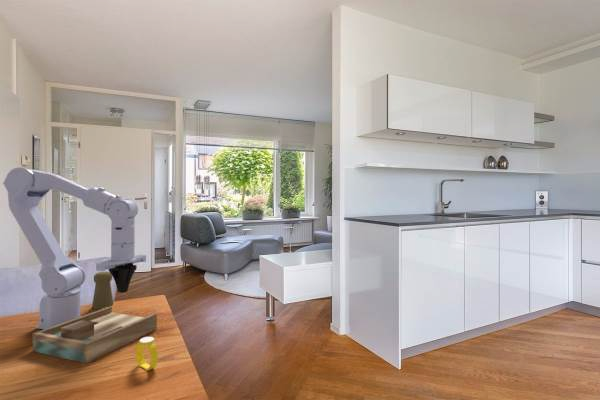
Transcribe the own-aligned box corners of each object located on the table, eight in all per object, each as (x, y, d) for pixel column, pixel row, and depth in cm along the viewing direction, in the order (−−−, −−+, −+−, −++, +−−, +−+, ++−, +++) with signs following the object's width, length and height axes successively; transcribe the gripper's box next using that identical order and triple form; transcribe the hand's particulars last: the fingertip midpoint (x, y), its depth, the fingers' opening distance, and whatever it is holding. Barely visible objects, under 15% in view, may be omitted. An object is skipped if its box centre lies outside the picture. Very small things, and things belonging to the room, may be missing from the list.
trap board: (32, 351, 75) (32, 333, 75) (108, 320, 94) (108, 306, 94) (87, 363, 70) (87, 344, 70) (156, 328, 89) (156, 313, 89)
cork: (103, 309, 103) (103, 274, 103) (87, 308, 105) (87, 273, 105) (117, 303, 109) (118, 270, 109) (102, 302, 111) (102, 269, 111)
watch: (160, 370, 68) (161, 341, 68) (147, 376, 66) (149, 346, 65) (144, 359, 71) (145, 332, 71) (131, 365, 69) (133, 337, 69)
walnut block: (60, 340, 75) (60, 327, 75) (81, 332, 80) (81, 320, 80) (73, 343, 74) (73, 330, 74) (94, 334, 78) (94, 322, 78)
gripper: (110, 247, 83) (110, 300, 83) (154, 240, 97) (153, 286, 97) (90, 245, 86) (90, 297, 86) (135, 239, 99) (135, 284, 100)
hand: (122, 291), depth 92 cm, fingers closed
